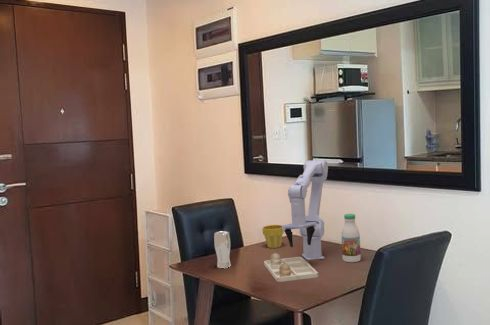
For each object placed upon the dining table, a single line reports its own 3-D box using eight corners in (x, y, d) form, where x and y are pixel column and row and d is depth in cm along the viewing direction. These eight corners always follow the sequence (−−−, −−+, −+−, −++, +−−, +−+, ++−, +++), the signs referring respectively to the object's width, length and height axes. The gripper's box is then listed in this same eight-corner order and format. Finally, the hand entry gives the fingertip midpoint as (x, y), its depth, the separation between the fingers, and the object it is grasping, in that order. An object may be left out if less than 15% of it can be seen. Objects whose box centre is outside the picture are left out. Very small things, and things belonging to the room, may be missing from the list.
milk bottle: (340, 258, 226) (338, 213, 225) (357, 257, 227) (355, 212, 225) (345, 263, 219) (343, 217, 217) (363, 261, 219) (361, 215, 218)
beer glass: (234, 264, 228) (231, 231, 227) (228, 269, 221) (226, 234, 220) (219, 263, 230) (217, 230, 229) (213, 268, 224) (211, 234, 222)
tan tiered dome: (278, 276, 206) (277, 262, 205) (289, 275, 206) (288, 261, 206) (281, 279, 201) (280, 265, 201) (292, 278, 202) (291, 264, 201)
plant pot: (261, 245, 258) (259, 226, 257) (280, 242, 260) (279, 223, 259) (266, 250, 248) (265, 230, 247) (287, 247, 250) (286, 227, 249)
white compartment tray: (264, 265, 223) (263, 260, 223) (301, 261, 226) (301, 256, 226) (277, 283, 199) (277, 278, 199) (318, 278, 202) (318, 273, 201)
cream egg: (269, 265, 221) (269, 252, 221) (279, 264, 222) (279, 251, 221) (272, 268, 217) (271, 255, 216) (282, 267, 218) (281, 254, 217)
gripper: (283, 217, 210) (285, 249, 211) (318, 213, 212) (319, 246, 214) (279, 213, 217) (281, 245, 218) (313, 210, 219) (314, 242, 221)
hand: (300, 245), depth 216 cm, fingers open, 7 cm apart
